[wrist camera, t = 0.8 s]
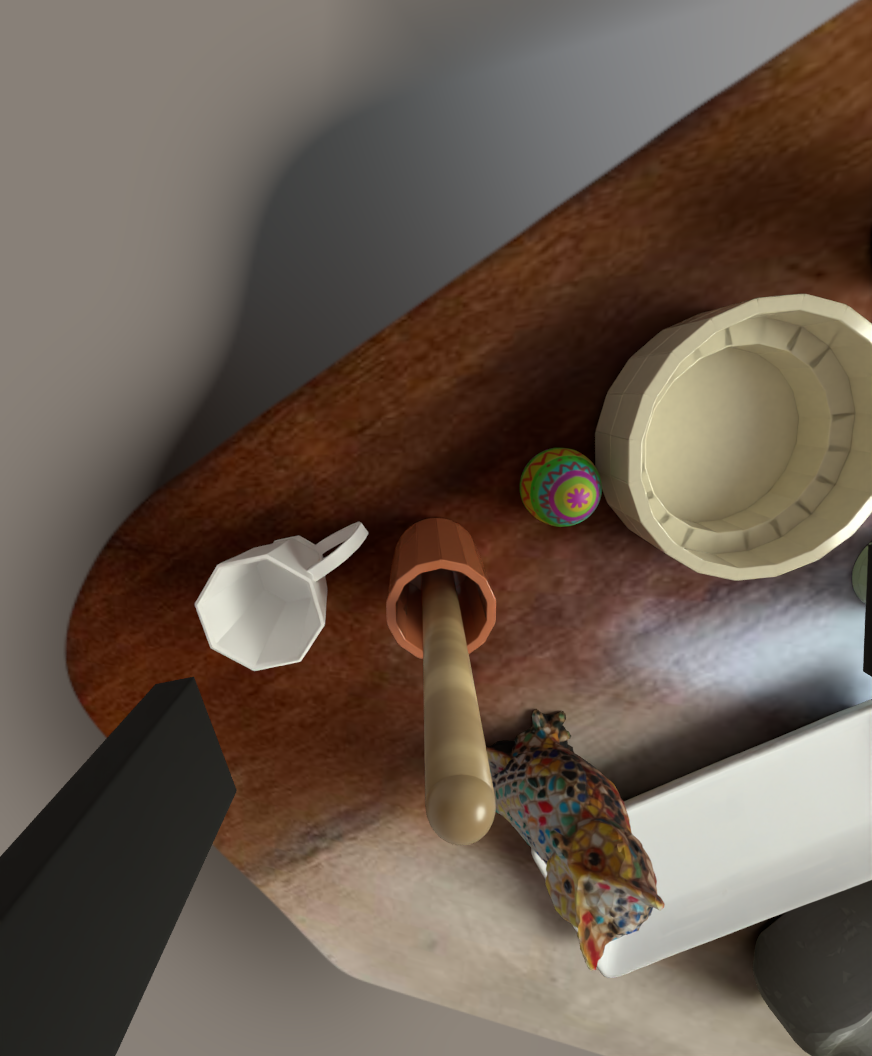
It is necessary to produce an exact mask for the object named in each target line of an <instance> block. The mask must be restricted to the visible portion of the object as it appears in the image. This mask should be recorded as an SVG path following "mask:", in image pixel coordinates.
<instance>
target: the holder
mask: <svg viewBox="0 0 872 1056" xmlns="http://www.w3.org/2000/svg"><path fill="white" fill-rule="evenodd" d="M440 568H442V569H447V570H452V571H453V574H454V579H455V585H456V590H457V595H458V601H459V606H460V611H461V617H462V622H463V628H464V633H465V638H466V644H467V649H468V654H470V653H471V652H472V651H474V650H475V649H477V648H478V647H479V646H481V645H482V644H483V643H484V642H485V641H486V639H487V637H488V635H489V633H490V632H491V630H492V628H493V626H494V624H495V622H496V598H495V595H494V592H493V590H492V587H491V584H490V581H489V579H488V576H487V573H486V571H485V568H484V565H483V562H482V560H481V557H480V554H479V552H478V549H477V547H476V545H475V543H474V540H473V539H472V537H471V535H470V534H469V533H468V531H467V530H466V529H465V528H463V527H462V526H461V525H459V524H458V523H456V522H454V521H451V520H448V519H444V518H428V519H424V520H421V521H419V522H417V523H415V524H413V525H412V526H410V527H409V528H408V529H407V530H406V531H405V532H404V533H403V534H402V536H401V537H400V539H399V541H398V543H397V546H396V549H395V551H394V556H393V562H392V569H391V575H390V582H389V588H388V594H387V601H386V610H387V625H388V627H389V629H390V631H391V632H392V634H393V636H394V638H395V639H396V641H397V643H398V644H399V645H400V646H401V647H403V648H404V649H406V650H407V651H409V652H410V653H412V654H413V655H415V656H416V657H418V658H421V659H423V607H422V573H423V572H427V571H432V570H436V569H440Z"/></svg>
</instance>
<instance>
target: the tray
mask: <svg viewBox="0 0 872 1056" xmlns="http://www.w3.org/2000/svg"><path fill="white" fill-rule="evenodd" d="M624 804H625V807H626V811H627V813H628V817H629V822H630V826H631V832H632V834H633V835H634V836H635V837H636V838H637V839H638V840H639V841H640V842H641V843H642V845H643V848H644V850H645V851H646V853H647V854H648V856H649V858H650V860H651V862H652V866H653V870H654V873H655V876H656V880H657V884H656V887H657V895H658V896H660V897H661V899H662V900H663V902H664V904H665V905H664V908H663V909H662V910H661V911H659V910H658V909H656V908H654V907H653V910H652V913H651V916H649V917H648V919H647V920H646V921H645V922H643V924H642V925H641V926H640V929H639V931H635V932H633V933H631V934H628V935H624V936H622V937H620V938H618V939H615V940H613V941H611V942H609V943H608V944H606V945H605V949H604V953H603V956H602V957H601V959H600V960H598V963H597V968H598V970H599V971H600V972H601V974H602V975H603V976H605V977H607V978H615V977H619V976H622V975H625V974H627V973H630V972H632V971H635V970H637V969H640V968H642V967H645V966H648V965H650V964H652V963H655V962H657V961H659V960H662V959H664V958H667V957H670V956H672V955H675V954H677V953H680V952H683V951H685V950H688V949H691V948H693V947H696V946H699V945H701V944H704V943H707V942H709V941H712V940H715V939H717V938H720V937H722V936H725V935H728V934H730V933H733V932H735V931H738V930H740V929H743V928H746V927H748V926H751V925H753V924H756V923H759V922H761V921H764V920H766V919H769V918H772V917H774V916H777V915H779V914H782V913H785V912H787V911H790V910H793V909H795V908H798V907H800V906H803V905H806V904H809V903H811V902H814V901H817V900H819V899H822V898H825V897H827V896H830V895H833V894H835V893H838V892H841V891H844V890H846V889H849V888H852V887H854V886H857V885H859V884H862V883H865V882H867V881H870V880H872V699H871V700H868V701H865V702H863V703H860V704H858V705H855V706H853V707H850V708H847V709H845V710H842V711H839V712H837V713H834V714H832V715H830V716H827V717H825V718H823V719H820V720H818V721H816V722H813V723H811V724H808V725H806V726H804V727H801V728H799V729H797V730H794V731H792V732H790V733H787V734H785V735H782V736H780V737H778V738H775V739H773V740H770V741H768V742H766V743H763V744H761V745H758V746H756V747H753V748H751V749H748V750H746V751H743V752H741V753H738V754H736V755H733V756H731V757H728V758H726V759H723V760H721V761H719V762H716V763H714V764H712V765H709V766H707V767H704V768H702V769H700V770H697V771H695V772H693V773H690V774H688V775H685V776H683V777H681V778H678V779H676V780H674V781H671V782H669V783H666V784H664V785H662V786H659V787H657V788H655V789H652V790H650V791H648V792H645V793H643V794H641V795H638V796H636V797H633V798H631V799H629V800H626V801H624ZM531 853H532V856H533V859H534V861H535V862H536V864H537V866H538V868H539V869H540V871H541V873H542V874H543V876H544V878H545V879H546V877H547V872H546V866H547V865H546V864H545V862H544V861H543V860H541V858H540V857H539V856H538V855H537V854H536V853H535V851H534V850H533V848H531ZM574 928H575V930H576V932H578V928H576V927H574Z"/></svg>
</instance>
